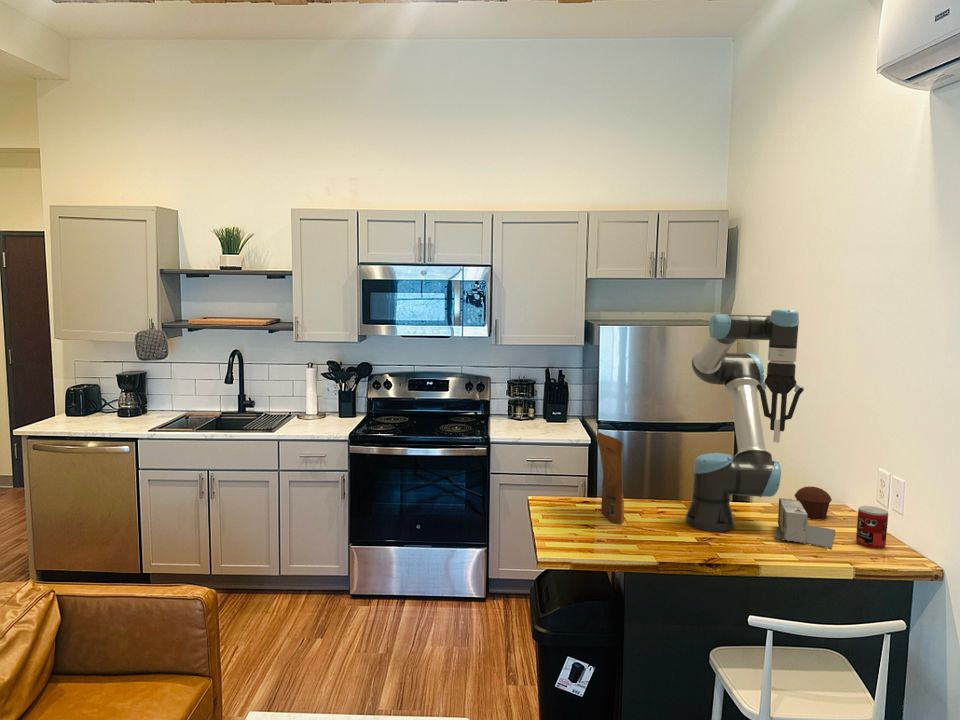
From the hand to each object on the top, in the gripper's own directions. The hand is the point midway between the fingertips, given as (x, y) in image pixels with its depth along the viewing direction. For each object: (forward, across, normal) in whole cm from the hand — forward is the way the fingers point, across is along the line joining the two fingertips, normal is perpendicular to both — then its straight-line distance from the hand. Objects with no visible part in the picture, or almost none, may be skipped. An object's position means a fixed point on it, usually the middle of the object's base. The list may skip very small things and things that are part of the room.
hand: (776, 441), depth 197 cm
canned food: (+33, +26, +22) cm, 47 cm away
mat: (+32, +8, +20) cm, 39 cm away
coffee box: (+27, +6, +8) cm, 29 cm away
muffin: (+33, +8, +43) cm, 55 cm away
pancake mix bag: (+33, -50, 0) cm, 60 cm away
